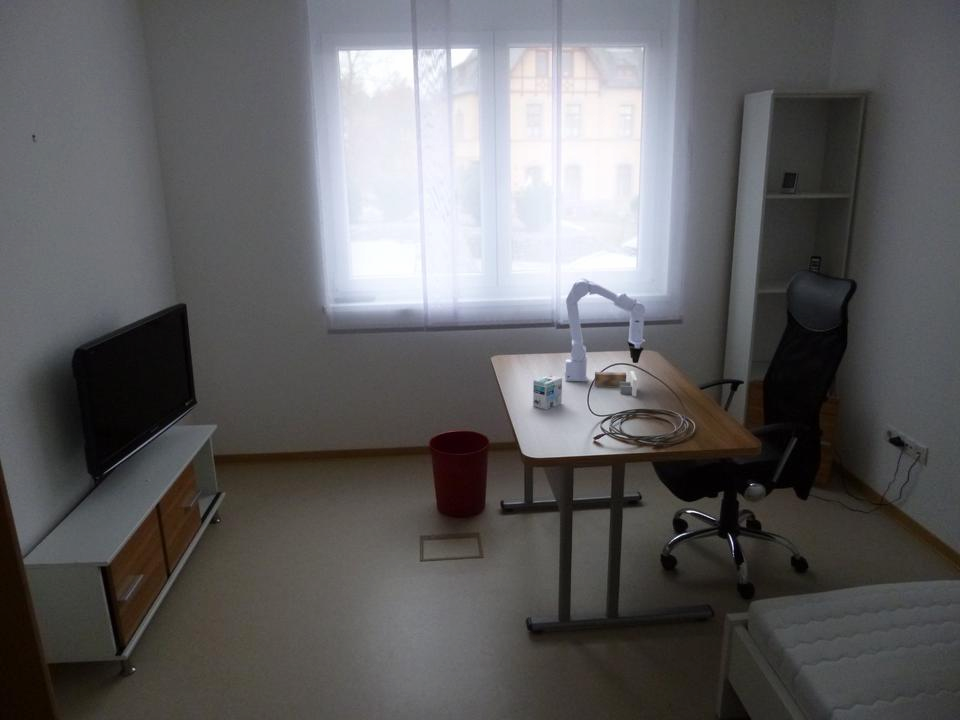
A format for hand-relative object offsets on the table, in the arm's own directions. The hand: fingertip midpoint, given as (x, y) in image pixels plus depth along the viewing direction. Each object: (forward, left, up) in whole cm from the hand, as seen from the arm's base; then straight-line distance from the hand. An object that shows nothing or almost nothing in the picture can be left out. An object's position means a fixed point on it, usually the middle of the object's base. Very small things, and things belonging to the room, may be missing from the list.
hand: (634, 360), depth 299 cm
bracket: (-4, -14, -10) cm, 17 cm away
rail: (-10, -6, -10) cm, 15 cm away
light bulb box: (-37, -34, -10) cm, 51 cm away
